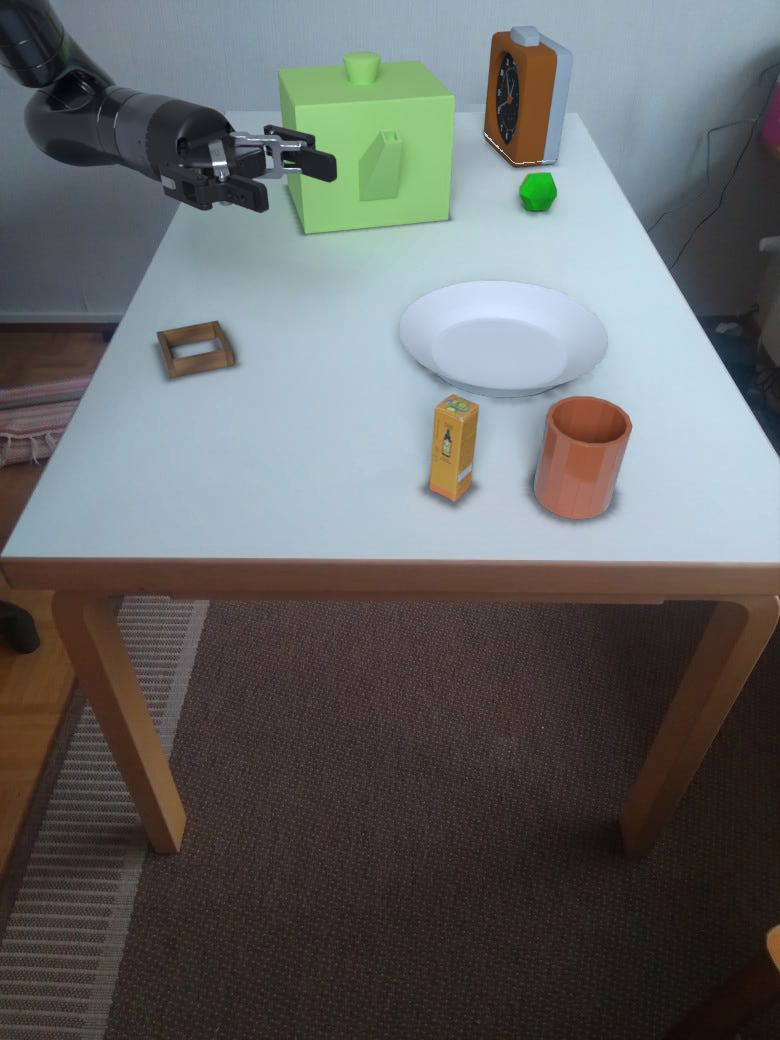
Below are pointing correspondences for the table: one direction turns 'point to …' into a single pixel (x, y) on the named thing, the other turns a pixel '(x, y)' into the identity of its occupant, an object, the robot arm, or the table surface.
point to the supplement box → (453, 446)
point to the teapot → (371, 142)
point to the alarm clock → (527, 95)
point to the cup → (581, 456)
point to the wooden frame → (200, 360)
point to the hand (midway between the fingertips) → (301, 184)
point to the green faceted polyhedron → (538, 191)
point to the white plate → (503, 337)
